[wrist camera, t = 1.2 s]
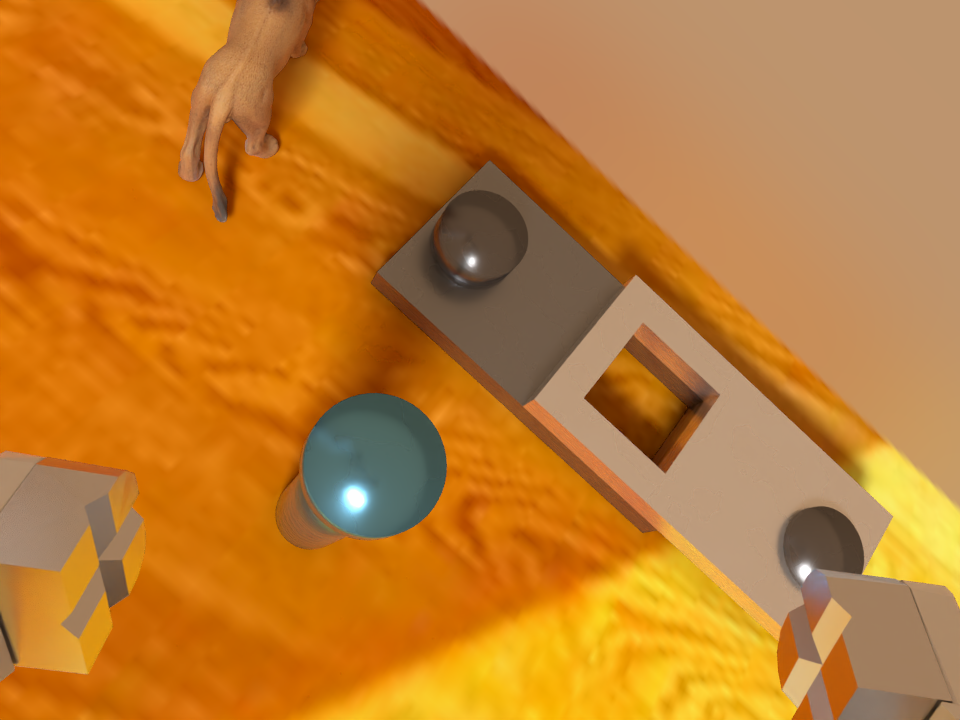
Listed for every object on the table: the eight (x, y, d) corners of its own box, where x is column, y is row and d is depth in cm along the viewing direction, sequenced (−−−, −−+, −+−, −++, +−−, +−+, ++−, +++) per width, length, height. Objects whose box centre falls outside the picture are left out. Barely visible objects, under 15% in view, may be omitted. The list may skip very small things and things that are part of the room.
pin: (251, 477, 39) (288, 410, 26) (346, 454, 41) (425, 380, 28) (274, 575, 38) (324, 554, 26) (371, 547, 40) (463, 514, 27)
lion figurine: (217, -40, 46) (227, -184, 37) (320, -11, 47) (351, -144, 39) (166, 216, 41) (164, 116, 33) (281, 239, 43) (306, 149, 34)
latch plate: (370, 283, 43) (386, 256, 40) (480, 173, 47) (502, 141, 44) (777, 656, 45) (823, 659, 42) (852, 522, 49) (900, 515, 46)
